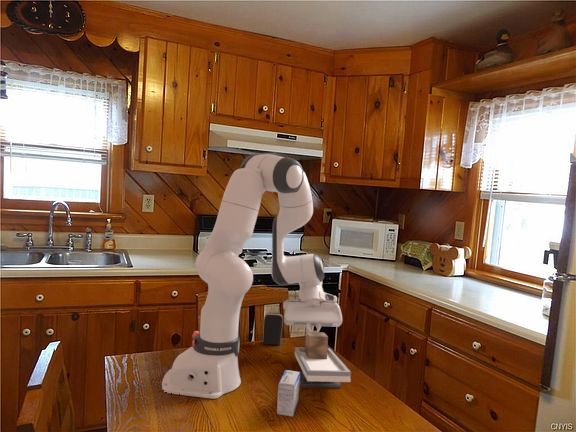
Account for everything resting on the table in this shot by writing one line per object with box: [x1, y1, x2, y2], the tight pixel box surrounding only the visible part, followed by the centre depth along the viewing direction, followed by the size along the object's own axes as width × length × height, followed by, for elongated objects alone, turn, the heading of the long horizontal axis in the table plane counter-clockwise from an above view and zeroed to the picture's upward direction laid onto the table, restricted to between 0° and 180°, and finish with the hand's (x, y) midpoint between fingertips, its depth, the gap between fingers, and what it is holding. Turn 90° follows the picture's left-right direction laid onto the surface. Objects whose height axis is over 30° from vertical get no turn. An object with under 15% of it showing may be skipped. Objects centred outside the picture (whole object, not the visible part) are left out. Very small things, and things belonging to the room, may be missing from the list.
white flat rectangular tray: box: [294, 346, 352, 383], centre depth 124 cm, size 12×28×3 cm, turn 5°
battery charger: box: [262, 312, 284, 346], centre depth 150 cm, size 7×4×11 cm, turn 91°
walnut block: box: [304, 331, 329, 359], centre depth 132 cm, size 6×7×7 cm
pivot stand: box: [297, 370, 342, 389], centre depth 124 cm, size 12×8×4 cm, turn 95°
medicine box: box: [276, 369, 300, 417], centre depth 108 cm, size 8×4×9 cm, turn 168°
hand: (314, 337), depth 136 cm, fingers closed
